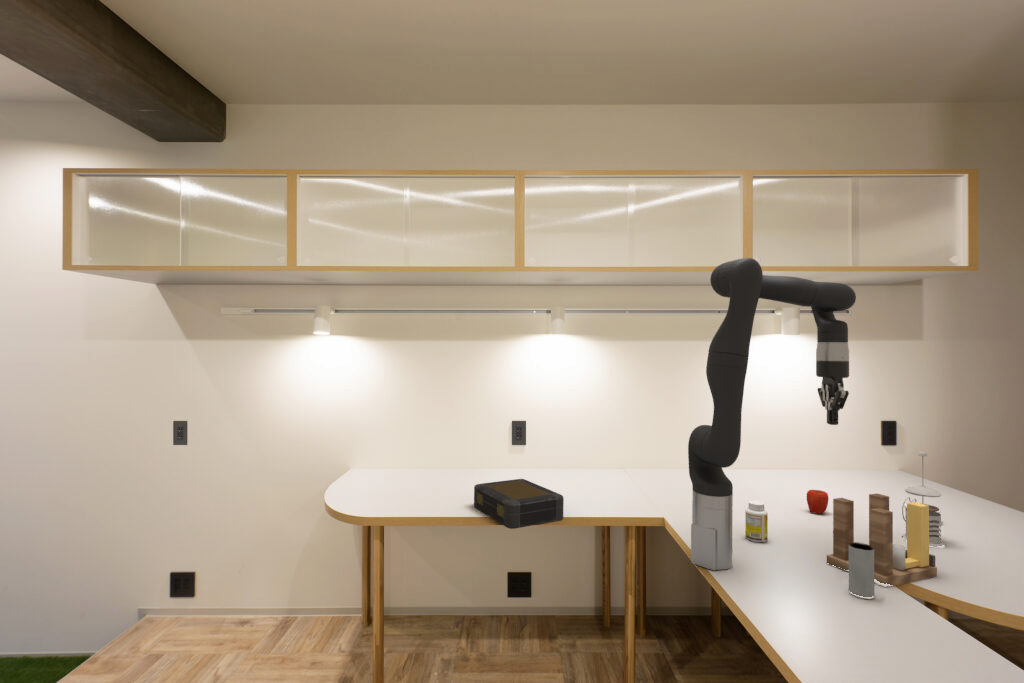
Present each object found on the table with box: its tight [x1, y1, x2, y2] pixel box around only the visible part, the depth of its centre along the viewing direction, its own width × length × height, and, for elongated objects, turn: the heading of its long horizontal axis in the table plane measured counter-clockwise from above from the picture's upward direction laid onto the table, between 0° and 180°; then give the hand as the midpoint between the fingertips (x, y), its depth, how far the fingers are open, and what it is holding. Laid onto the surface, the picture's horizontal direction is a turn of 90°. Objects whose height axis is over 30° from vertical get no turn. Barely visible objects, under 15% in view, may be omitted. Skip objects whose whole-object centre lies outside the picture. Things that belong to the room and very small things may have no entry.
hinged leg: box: [893, 501, 930, 570], centre depth 120 cm, size 10×3×14 cm, turn 112°
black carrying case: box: [473, 478, 565, 530], centre depth 163 cm, size 25×20×8 cm
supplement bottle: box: [744, 500, 769, 543], centre depth 142 cm, size 6×6×10 cm
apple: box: [806, 489, 829, 515], centre depth 168 cm, size 6×6×8 cm
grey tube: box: [848, 541, 875, 597], centre depth 110 cm, size 4×4×10 cm
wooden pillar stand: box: [826, 493, 938, 587], centre depth 123 cm, size 18×14×16 cm
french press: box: [901, 451, 945, 547], centre depth 143 cm, size 10×12×25 cm
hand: (832, 424), depth 137 cm, fingers closed
